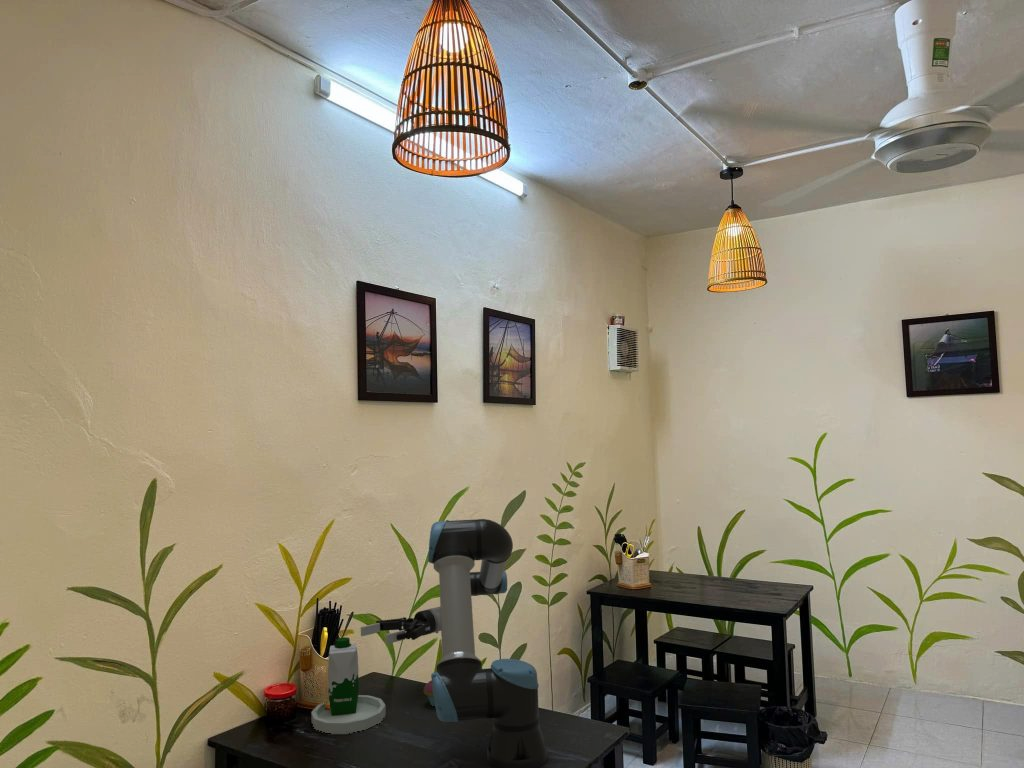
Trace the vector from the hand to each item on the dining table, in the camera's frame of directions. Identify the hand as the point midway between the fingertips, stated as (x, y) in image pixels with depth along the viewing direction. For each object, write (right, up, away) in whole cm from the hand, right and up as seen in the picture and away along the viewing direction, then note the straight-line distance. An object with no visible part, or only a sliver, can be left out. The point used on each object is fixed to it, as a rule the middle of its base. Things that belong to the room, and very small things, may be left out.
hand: (373, 635), depth 215 cm
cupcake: (+19, -21, +1) cm, 29 cm away
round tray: (-6, -22, -8) cm, 24 cm away
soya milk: (-8, -21, -4) cm, 23 cm away
